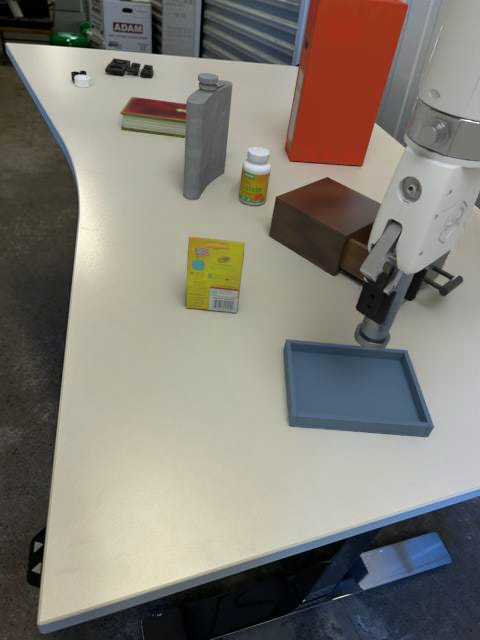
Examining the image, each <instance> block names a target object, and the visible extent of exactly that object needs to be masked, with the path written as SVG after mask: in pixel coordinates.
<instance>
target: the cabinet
mask: <svg viewBox="0 0 480 640" xmlns="http://www.w3.org/2000/svg"><path fill="white" fill-rule="evenodd" d="M381 203H382V202H379V201H377V200H374V199H372V198H370V197H369V196H367V195H365V194H363V193H360V192H359V191H356V190H355V189H353V188H350V187H348V186H347V185H345V184H343V183H340V182H339V181H337V180H334V179H333V178H330V177H329V176H326V177H323V178H321V179H318V180H316V181H313V182H310V183H307V184H305V185H303V186H300V187H297V188H295V189H292V190H289V191H287V192H284V193H282V194H279V195H276V196H275V198H274V205H273V210H272V216H271V222H270V227H269V233H268V237H270V238H271V239H273V240H275V241H276V242H278V243H279V244H281V245H283V246H285V247H286V248H288V249H289V250H291V251H292V252H294V253H296V254H297V255H299V256H300V257H302V258H304V259H305V260H307V261H309V262H310V263H311V264H313V265H315V266H317V267H319V268H320V269H322V270H323V271H325V272H326V273H328V274H330V275H331V276H333V277H336V276H337V275H339V274H341V273H343V272H344V271H345V270H344V269H342V268H341V267H339V266H340V263H341V260H342V256H343V253H344V250H345V246H346V243H347V240H348V239H349V238H351V237H352V236H354V235H356V234H358V233H360V232H362V231H364V230H366V229H368V228H370V227H371V226H373V225H374V222H375V219H376V216H377V213H378V211H379V208H380V206H381Z"/></svg>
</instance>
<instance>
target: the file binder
mask: <svg viewBox="0 0 480 640" xmlns="http://www.w3.org/2000/svg"><path fill="white" fill-rule="evenodd" d="M408 9H409V4H408V3H406V2H403V1H401V0H309V5H308V10H307V11H308V12H307V16H306V22H305V27H304V28H305V29H304V34H303V39H302V45H301V51H300V58H299V62H298V63H299V64H298V69H297V75H296V81H295V86H294V91H293V97H292V102H291V103H292V104H291V109H290V113H289V114H290V115H289V120H288V127H287V133H286V139H285V144H284V150H285V152H286V155H287V157H288V160H289V161H291V162H305V163H317V164H318V163H319V164H329V165H330V164H333V165H347V166H357V167H358V166H360V167H362V166H364V162H365V159H366V155H367V152H368V148H369V145H370V142H371V138H372V134H373V131H374V128H375V124H376V120H377V117H378V114H379V110H380V107H381V102H382V100H383V96H384V93H385V90H386V85H387V83H388V79H389V75H390V72H391V68H392V65H393V62H394V57H395V55H396V51H397V48H398V43H399V41H400V37H401V33H402V30H403V26H404V23H405V19H406V16H407V13H408Z"/></svg>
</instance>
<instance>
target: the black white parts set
mask: <svg viewBox="0 0 480 640" xmlns="http://www.w3.org/2000/svg"><path fill="white" fill-rule="evenodd" d="M140 69H141V70H140ZM104 72H105V73H107V74H108V73H109V74H115V75H120V76H123V75H124V74H125V72H126V73H132V74H139V72H140V74H139V75H140V78H145V79H153V77H154V65H151V64H144V65H143V67H142V68H141V63H138V62H131V60H127V59H121V58H116V57H113V58H112V60H111V61H110V62H109V63H108V64H107V66H105V68H104ZM70 75H71V76H70V78H71V81H72V82H74V86H75V87H78V88H81V89H87V88H91V86H92V80H91V79H92V78H91V76H89V75H88V74H87V71H86V70H80V71H76V70H74V71H71V72H70Z"/></svg>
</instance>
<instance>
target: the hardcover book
mask: <svg viewBox="0 0 480 640" xmlns="http://www.w3.org/2000/svg"><path fill="white" fill-rule="evenodd" d="M119 114H120V115H122V126H121V127H120V130H121V131H128V132H135V133H143V134H152V135H160V136H168V137H173V138H174V137H176V138H182V139H183V138H184V139H185V131H186V103H184V102H183V103H182V102H175V101H167V100H159V99H152V98H146V97H145V98H144V97H136V96H131V97H130V98H129V99H128V101H127V102H126V104H125V105H124V107H123V108H122V109H121V111H120V113H119Z"/></svg>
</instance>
